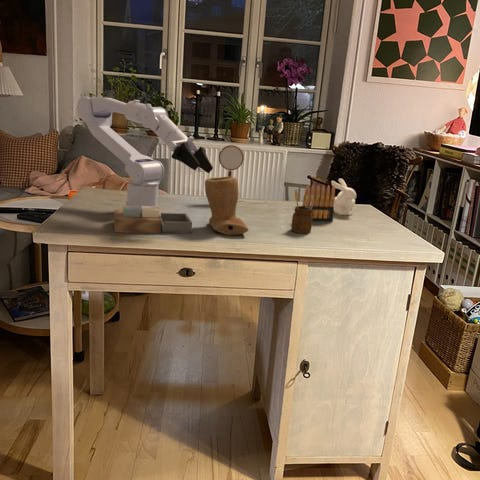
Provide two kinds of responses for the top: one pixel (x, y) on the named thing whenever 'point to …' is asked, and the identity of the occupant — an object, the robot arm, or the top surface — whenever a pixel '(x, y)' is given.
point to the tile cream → (150, 211)
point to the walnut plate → (136, 223)
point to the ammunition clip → (320, 203)
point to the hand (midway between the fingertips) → (204, 169)
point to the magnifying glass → (231, 158)
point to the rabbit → (344, 198)
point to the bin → (175, 223)
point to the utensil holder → (302, 217)
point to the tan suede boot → (224, 205)
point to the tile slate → (131, 211)
